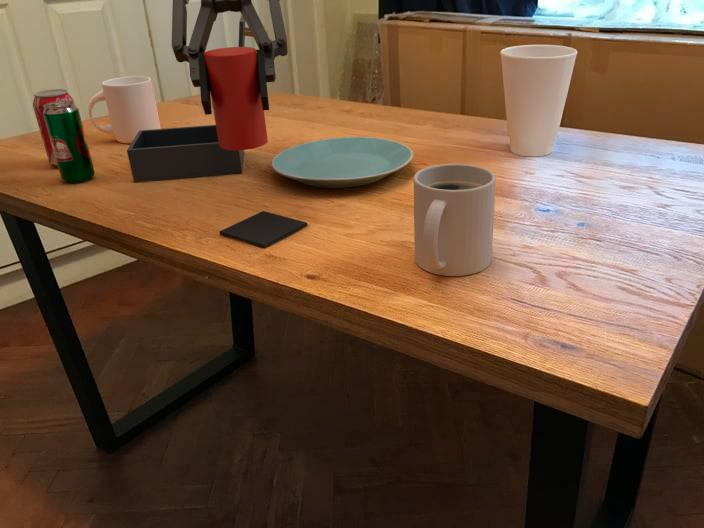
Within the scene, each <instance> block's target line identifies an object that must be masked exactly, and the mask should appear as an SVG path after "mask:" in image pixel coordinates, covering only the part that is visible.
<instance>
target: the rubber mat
mask: <svg viewBox="0 0 704 528" xmlns="http://www.w3.org/2000/svg"><path fill="white" fill-rule="evenodd" d="M306 227H308V222H306V221H303V220H300V219H295V218H292V217H288V216H284V215H281V214H277V213H273V212H269V211H265V210H262V211H259V212H258V213H256V214H253V215H251V216H249V217H246V218H245V219H242V220H240V221H238V222H236V223H234V224H231V225H230V226H228V227H226V228H224V229H221V230H220V231H219V236H223V237H227V238H230V239H233V240H236V241H238V242H242V243H246V244H248V245H249V244H250V245H252V246H256V247H260V248H263V249H266V248H269V247H270V246H273V245H274V244H276V243H278V242H280V241H282V240H284V239H285V238H288V237H289V236H291V235H293V234H295V233H297V232H299V231H301V230H302V229H305V228H306Z"/></svg>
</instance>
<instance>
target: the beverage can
mask: <svg viewBox="0 0 704 528" xmlns="http://www.w3.org/2000/svg"><path fill="white" fill-rule="evenodd" d="M33 97H34V98H33V101H32V108H33V111H34V115H35V118H36V122H37V125H38V128H39V132H40V136H41V139H42V142H43V146H44V150H45V153H46V156H47V159H48V162H49V164H51V165H55V166H56V167H58V165H57V161H56V158H55V154H54V151H53V147H52V144H51V140H50V137H49V133H48V130H47V126H46V123H45V119H44V116H43V111H44V105H45V104H47V103H51V102H56V101H73V102H74V105H75V106H76V104H75V100H74V99H73V97H72V95H70V94H69V92H68V90H67V89H63V88H54V89H45V90H40V91H37V92H35V93H34V94H33Z"/></svg>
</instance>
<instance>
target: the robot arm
mask: <svg viewBox="0 0 704 528" xmlns="http://www.w3.org/2000/svg"><path fill="white" fill-rule="evenodd" d="M280 1H281V0H268V6H269V13H270V18H271V23H272V29H273V33H274V38H275V39H274V40H272V38H271V39H270V36H269V34H268V35H267V33H266V31H265V29H264V27H263V26H264V25H263V23H262V20H261V19H260V17H259V14H258V12H257V10H256V8H255V6H254V4H253V2H252V0H200V7H199V12H198V14H197V17H196V21H195V23H194V27H193V30H192V34H191V37H190V39H189V43H188V44H187V42H188V41H187V40H188V39H187V36H188V33H187V32H188V31H187V30H188V10H187V5H188V4H189V3H190V0H172V10H171V11H172V14H171V16H172V17H171V20H172V21H171V48H172V52H173V54H174V58H175V60H176V62H178V63H185V62H187V63H188V67H189V78H190V81H191V84H192V86H193V87H194V88H199V89H200V90H199V91H200V103H201V106H202V109H203V112H204V115H205V116H206V115H207V116H208V115H212V114H213V112H212V110H213V109H212V99H211V93H210V87H209V81H208V75H207V69H206V63H205V57H204V53H205V52H206V50H207V48H208V47H207V46H208V44H209V40H210V36H211V33H212V30H213V27H214V23H215V22H216V21H217V18H218V14H223V13H226V12H233V13H240V14H241V15H242V17H243V19H244V20H245V21H246V22H245V24H246V25H247V27H249V29H250V31H251V33H252V35H253V37H252V38H253V39H254V41H255V43H256V46H257V47H258V48H257V49H256V53H257V63H258V73H259V83H260V93H261V101H262V107H263V110H264V111H270V103H269V93H268V83H275V82H276V79H277V78H276V77H277V76H276V67H275V59H276V58H277V57H279V56H281V57H286V56H288V54H289V51H288V38H287V34H286V29H285V28H286V27H285V24H284V17H283V13H282V7H281V2H280Z"/></svg>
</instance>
